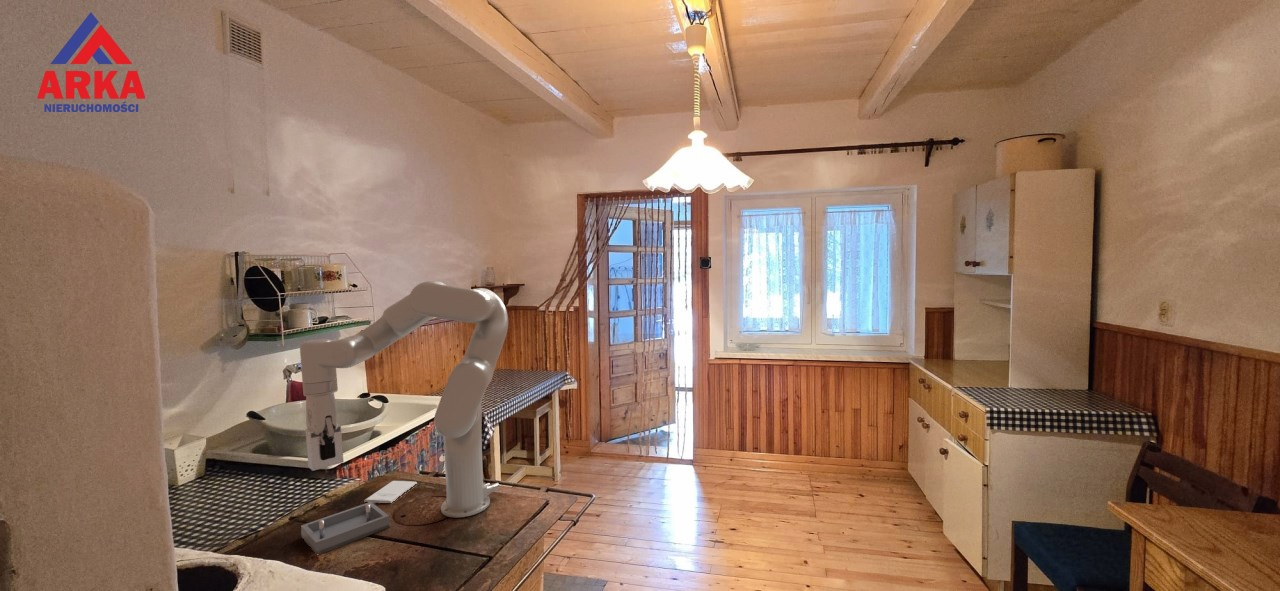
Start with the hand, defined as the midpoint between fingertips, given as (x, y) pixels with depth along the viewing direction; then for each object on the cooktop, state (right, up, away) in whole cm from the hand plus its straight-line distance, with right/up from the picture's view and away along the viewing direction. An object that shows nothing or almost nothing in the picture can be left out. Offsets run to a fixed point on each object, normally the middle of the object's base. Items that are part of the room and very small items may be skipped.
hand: (325, 455), depth 130 cm
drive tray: (+9, -17, -6) cm, 20 cm away
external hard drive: (+10, -17, +15) cm, 25 cm away
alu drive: (0, -2, 0) cm, 2 cm away
